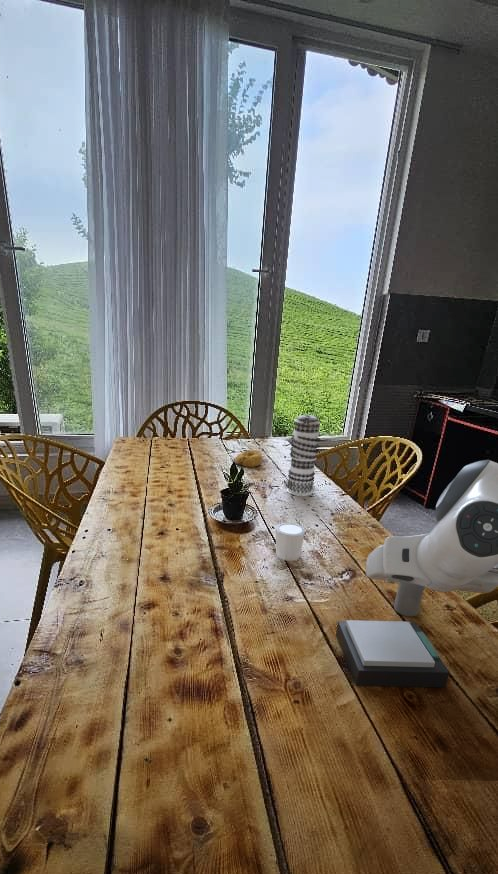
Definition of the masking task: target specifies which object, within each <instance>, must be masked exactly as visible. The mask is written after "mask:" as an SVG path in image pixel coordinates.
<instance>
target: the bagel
mask: <svg viewBox="0 0 498 874" xmlns="http://www.w3.org/2000/svg"><path fill="white" fill-rule="evenodd" d="M262 461H263V456H262V454H261V452H259V451H257V450H254V449H249V450H248V449H247V450H245V451H243V452H241V453H238V455H236V457H235V458H234V460H233V462H234V463H235V464H237V465H239V466H243V467H248V468H249V467H250V468H254V467H258V466H259V465H261V463H262Z"/></svg>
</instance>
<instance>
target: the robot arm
mask: <svg viewBox="0 0 498 874" xmlns="http://www.w3.org/2000/svg"><path fill="white" fill-rule="evenodd" d="M435 518H436V522H437V524H436V525H435V526H434V527H433V528H432V530H431V531H430V532H428V533H422V534H416V535H401V536H400V535H398V536H397V535H396V536H388V537H386V538H385V539H384V542H383V544H382V545H381V544H380V545H378V546H376V547H375V548H374V549H373V550H372V551H371V552H370V553H369V554H368V555H367V557H366V562H365V576H366V577H367V578H369V579H370V580H371V579H372V580H377V581H378V580H380V581H385V583H386V584H391V585H392V584H393V585H394V584H395V583H399V582H400V583H408V584H415V585H421V586H425V588H427V589H430V590H431V591H433V592H434V591H435V592H439V593H451V592H454V591H459V592H460V591H461V592H469V593H477V594H489V593H491V592H492V591H494V590H495V589H496V588H497V587H498V463H497V462H495V461H492V460H490V459H483V460H478V461H474V462H471V463H469V464H466V465H465V466H463V467H462V469H461V470H460V471H459V472H458V473H457V475H456V476H455V477H454V478H453V479H452V480H451V482H449V484H448V485H447V486H446V488H444V490H443V491H442V493H441V494H440V496H439V498H438V500H437V502H436V505H435Z"/></svg>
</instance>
